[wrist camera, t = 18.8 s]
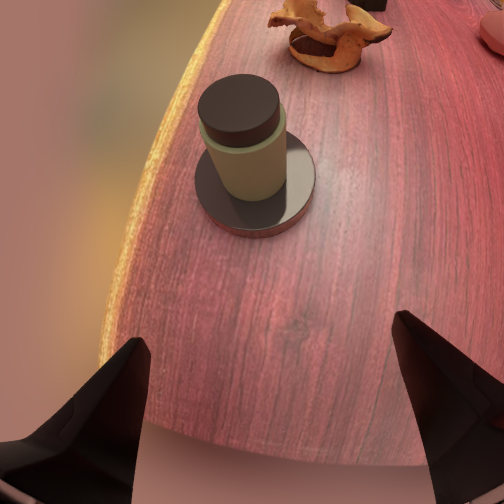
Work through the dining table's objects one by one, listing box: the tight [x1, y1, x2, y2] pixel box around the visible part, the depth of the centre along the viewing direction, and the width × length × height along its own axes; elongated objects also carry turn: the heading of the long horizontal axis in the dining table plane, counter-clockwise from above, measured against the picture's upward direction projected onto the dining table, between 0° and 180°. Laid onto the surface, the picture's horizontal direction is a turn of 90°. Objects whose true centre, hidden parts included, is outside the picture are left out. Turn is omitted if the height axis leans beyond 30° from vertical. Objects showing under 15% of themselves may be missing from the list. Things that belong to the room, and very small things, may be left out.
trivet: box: [195, 131, 316, 238], centre depth 22 cm, size 9×9×2 cm
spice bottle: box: [198, 74, 287, 201], centre depth 18 cm, size 5×5×8 cm
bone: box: [268, 0, 393, 73], centre depth 22 cm, size 12×10×8 cm
